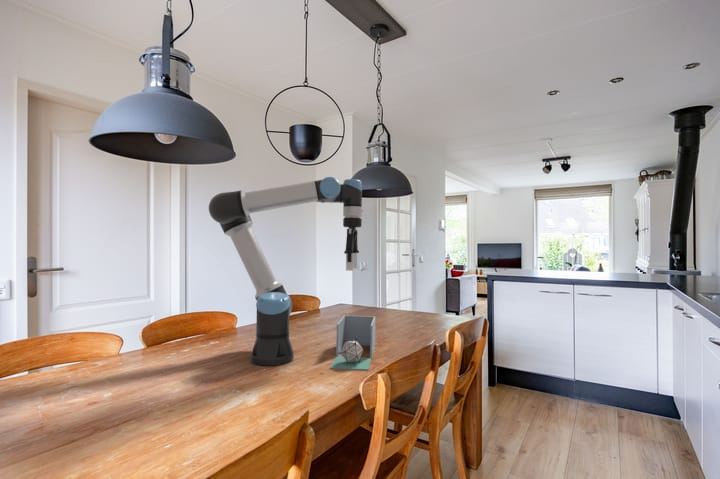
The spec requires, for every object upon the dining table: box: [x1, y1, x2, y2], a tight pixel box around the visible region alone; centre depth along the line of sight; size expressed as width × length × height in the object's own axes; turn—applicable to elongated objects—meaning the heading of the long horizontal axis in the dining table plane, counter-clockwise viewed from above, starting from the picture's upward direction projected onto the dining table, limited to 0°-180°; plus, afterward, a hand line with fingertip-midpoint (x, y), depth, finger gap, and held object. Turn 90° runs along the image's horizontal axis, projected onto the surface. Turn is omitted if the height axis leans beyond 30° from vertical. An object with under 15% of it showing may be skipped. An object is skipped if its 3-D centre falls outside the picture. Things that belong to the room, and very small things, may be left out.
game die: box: [338, 339, 366, 364], centre depth 130 cm, size 9×8×10 cm
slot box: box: [335, 314, 376, 359], centre depth 147 cm, size 13×18×12 cm
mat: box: [329, 356, 372, 371], centre depth 130 cm, size 13×12×1 cm
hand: (351, 269), depth 152 cm, fingers open, 13 cm apart
